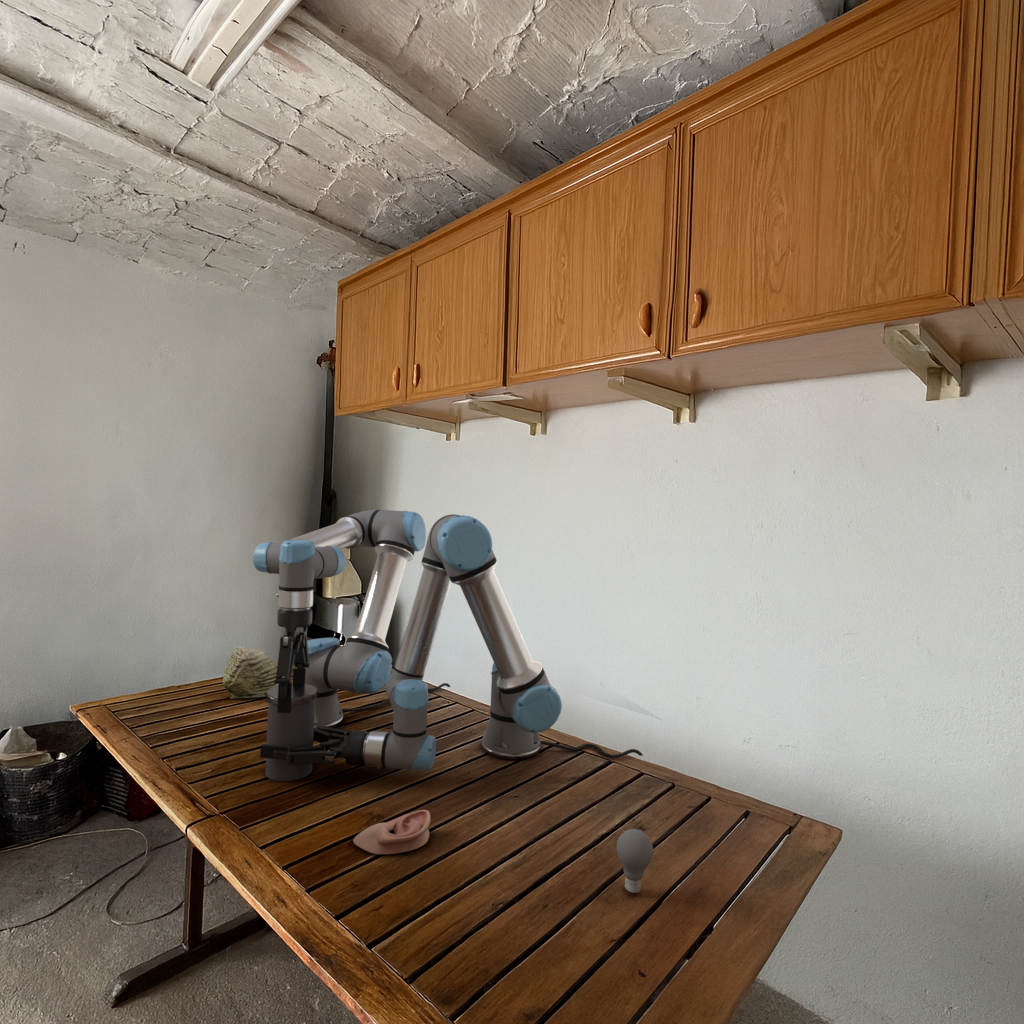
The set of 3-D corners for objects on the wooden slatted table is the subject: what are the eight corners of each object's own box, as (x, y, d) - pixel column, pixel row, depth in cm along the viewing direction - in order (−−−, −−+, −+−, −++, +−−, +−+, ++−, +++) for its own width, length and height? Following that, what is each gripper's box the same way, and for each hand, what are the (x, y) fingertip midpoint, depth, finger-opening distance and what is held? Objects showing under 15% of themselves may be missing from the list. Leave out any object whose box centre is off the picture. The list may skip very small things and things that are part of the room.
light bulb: (610, 879, 108) (613, 822, 108) (644, 879, 109) (647, 822, 109) (619, 902, 102) (622, 840, 102) (655, 901, 103) (658, 840, 103)
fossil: (218, 695, 195) (220, 647, 195) (278, 685, 208) (279, 640, 207) (228, 703, 189) (230, 653, 188) (289, 692, 201) (290, 645, 201)
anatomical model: (346, 827, 114) (372, 798, 125) (345, 849, 114) (372, 818, 125) (416, 839, 111) (436, 808, 122) (415, 861, 111) (436, 828, 123)
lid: (290, 688, 152) (291, 681, 152) (326, 695, 148) (327, 688, 148) (255, 700, 142) (255, 692, 142) (293, 708, 138) (293, 701, 138)
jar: (288, 759, 152) (291, 683, 151) (321, 768, 148) (324, 690, 147) (255, 775, 143) (258, 694, 142) (290, 785, 138) (293, 702, 138)
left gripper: (292, 599, 156) (289, 688, 156) (261, 617, 133) (257, 721, 133) (323, 600, 156) (320, 688, 157) (298, 618, 133) (294, 722, 133)
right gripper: (349, 787, 132) (247, 779, 134) (380, 745, 155) (292, 739, 157) (351, 752, 132) (248, 744, 134) (381, 715, 155) (293, 709, 157)
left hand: (291, 703), depth 145 cm, fingers closed on lid, 11 cm apart
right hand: (272, 741), depth 145 cm, fingers closed on jar, 10 cm apart
